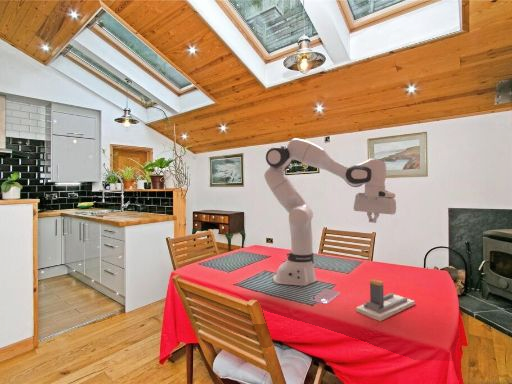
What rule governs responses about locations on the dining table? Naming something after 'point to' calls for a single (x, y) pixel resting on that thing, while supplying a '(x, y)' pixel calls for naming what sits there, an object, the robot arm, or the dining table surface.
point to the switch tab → (376, 292)
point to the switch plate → (385, 307)
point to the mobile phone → (325, 296)
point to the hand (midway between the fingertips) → (372, 222)
